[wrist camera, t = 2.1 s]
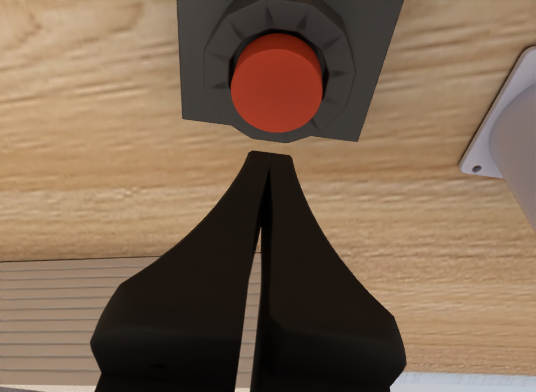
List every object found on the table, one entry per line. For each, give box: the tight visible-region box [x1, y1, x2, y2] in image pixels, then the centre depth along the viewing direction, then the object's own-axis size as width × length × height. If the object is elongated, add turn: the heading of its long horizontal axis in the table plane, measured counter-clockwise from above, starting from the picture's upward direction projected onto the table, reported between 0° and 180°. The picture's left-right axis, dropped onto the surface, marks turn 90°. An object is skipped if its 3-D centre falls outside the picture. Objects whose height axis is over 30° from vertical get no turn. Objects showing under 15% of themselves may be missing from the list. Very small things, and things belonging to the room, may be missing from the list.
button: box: [231, 33, 323, 133], centre depth 18 cm, size 4×4×2 cm
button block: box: [177, 0, 404, 143], centre depth 19 cm, size 10×8×4 cm
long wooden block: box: [0, 253, 261, 392], centre depth 33 cm, size 32×11×11 cm, turn 98°
